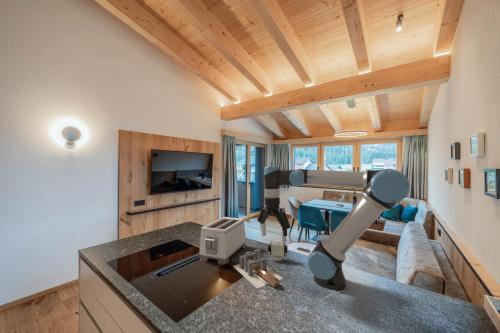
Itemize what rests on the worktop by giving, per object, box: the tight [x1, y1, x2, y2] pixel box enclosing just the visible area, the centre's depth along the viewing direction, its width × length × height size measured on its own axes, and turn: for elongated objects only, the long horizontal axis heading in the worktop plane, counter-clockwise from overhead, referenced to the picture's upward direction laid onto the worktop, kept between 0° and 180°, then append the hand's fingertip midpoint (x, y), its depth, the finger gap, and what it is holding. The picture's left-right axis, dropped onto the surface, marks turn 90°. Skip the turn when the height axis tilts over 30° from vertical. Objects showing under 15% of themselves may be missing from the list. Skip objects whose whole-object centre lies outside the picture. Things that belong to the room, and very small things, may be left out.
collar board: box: [232, 248, 284, 289], centre depth 113 cm, size 26×16×11 cm, turn 31°
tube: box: [253, 264, 280, 288], centre depth 107 cm, size 18×4×4 cm, turn 31°
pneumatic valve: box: [267, 241, 289, 262], centre depth 127 cm, size 6×12×12 cm, turn 78°
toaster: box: [199, 216, 247, 265], centre depth 140 cm, size 19×34×21 cm, turn 157°
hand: (273, 239), depth 105 cm, fingers open, 13 cm apart
